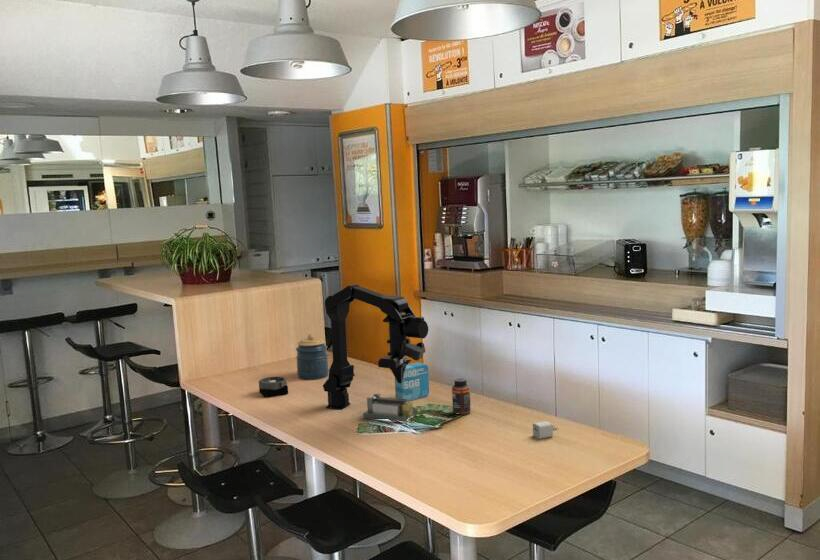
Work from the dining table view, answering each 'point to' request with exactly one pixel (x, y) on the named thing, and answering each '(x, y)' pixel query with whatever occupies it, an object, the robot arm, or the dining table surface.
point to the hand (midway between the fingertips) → (400, 382)
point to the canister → (312, 358)
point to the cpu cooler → (273, 386)
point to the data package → (413, 382)
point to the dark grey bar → (389, 399)
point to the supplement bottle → (461, 397)
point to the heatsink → (388, 410)
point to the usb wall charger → (543, 430)
